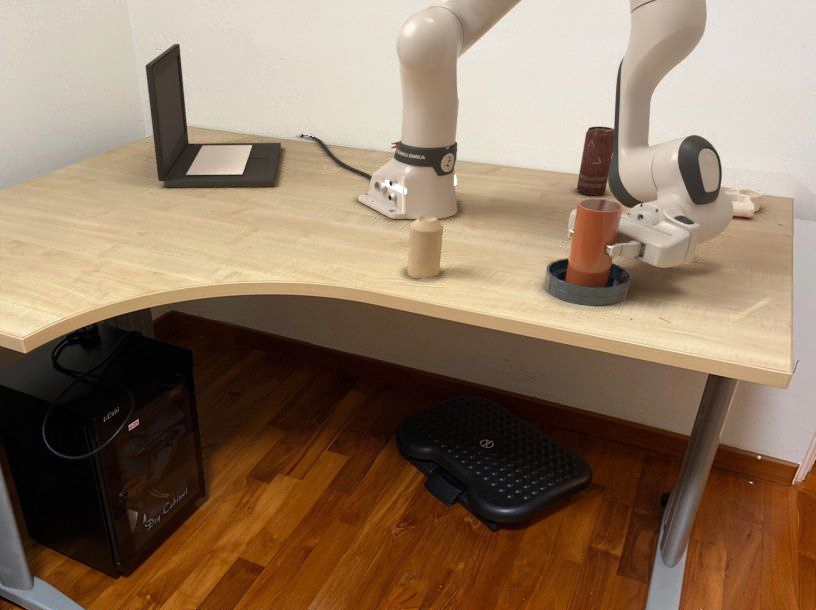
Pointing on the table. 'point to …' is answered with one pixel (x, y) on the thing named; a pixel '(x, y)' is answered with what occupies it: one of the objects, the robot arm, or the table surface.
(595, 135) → the can
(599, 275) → the tumbler
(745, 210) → the white brass knuckles
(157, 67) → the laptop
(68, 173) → the table surface
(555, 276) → the bowl
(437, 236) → the candle
